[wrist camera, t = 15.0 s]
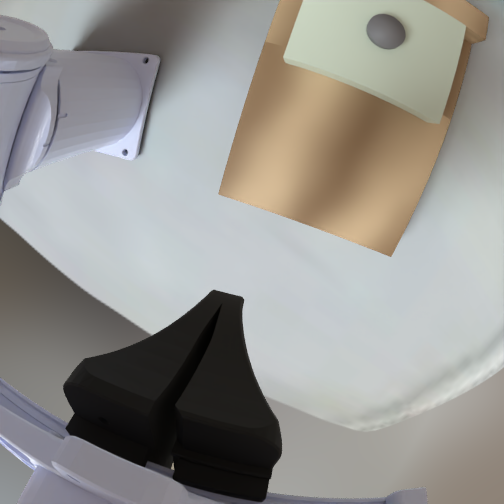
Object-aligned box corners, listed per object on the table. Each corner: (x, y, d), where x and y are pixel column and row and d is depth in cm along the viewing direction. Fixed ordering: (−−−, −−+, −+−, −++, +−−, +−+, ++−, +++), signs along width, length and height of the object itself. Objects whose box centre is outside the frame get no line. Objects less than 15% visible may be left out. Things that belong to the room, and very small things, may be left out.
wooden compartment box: (226, 186, 20) (210, 202, 17) (302, -42, 12) (300, -68, 8) (384, 244, 20) (397, 270, 17) (463, 27, 12) (489, 17, 8)
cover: (285, 62, 14) (282, 55, 12) (317, -29, 11) (319, -46, 9) (427, 122, 14) (443, 125, 12) (453, 31, 11) (471, 24, 9)
